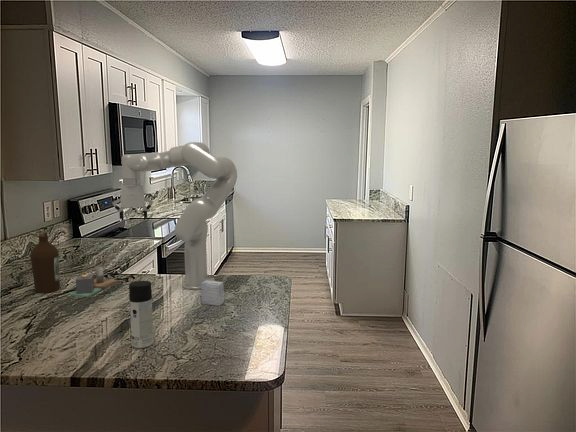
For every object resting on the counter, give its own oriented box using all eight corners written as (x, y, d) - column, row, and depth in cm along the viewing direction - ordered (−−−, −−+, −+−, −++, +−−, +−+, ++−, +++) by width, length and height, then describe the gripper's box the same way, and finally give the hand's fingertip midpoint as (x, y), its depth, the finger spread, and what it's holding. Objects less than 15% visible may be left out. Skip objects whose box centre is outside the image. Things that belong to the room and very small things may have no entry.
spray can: (134, 339, 141) (131, 280, 138) (156, 339, 141) (153, 279, 138) (128, 349, 134) (125, 286, 131) (151, 348, 135) (148, 286, 132)
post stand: (118, 282, 199) (117, 265, 198) (104, 289, 189) (103, 271, 188) (96, 280, 202) (94, 263, 200) (81, 286, 192) (79, 269, 191)
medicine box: (224, 302, 174) (223, 281, 173) (218, 306, 170) (218, 285, 169) (206, 300, 177) (206, 279, 176) (201, 304, 173) (200, 283, 171)
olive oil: (31, 295, 181) (25, 236, 177) (36, 287, 191) (31, 231, 187) (59, 292, 185) (55, 234, 181) (63, 284, 195) (58, 229, 191)
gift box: (92, 292, 183) (91, 276, 182) (76, 294, 181) (75, 277, 180) (94, 288, 188) (93, 272, 187) (79, 289, 187) (78, 273, 186)
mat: (101, 290, 188) (101, 288, 188) (87, 297, 179) (87, 295, 179) (83, 288, 190) (83, 287, 190) (68, 295, 182) (68, 293, 181)
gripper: (110, 183, 189) (112, 222, 192) (152, 182, 194) (153, 220, 197) (112, 181, 196) (114, 219, 199) (152, 181, 201) (153, 217, 204)
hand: (133, 219), depth 198 cm, fingers open, 9 cm apart
